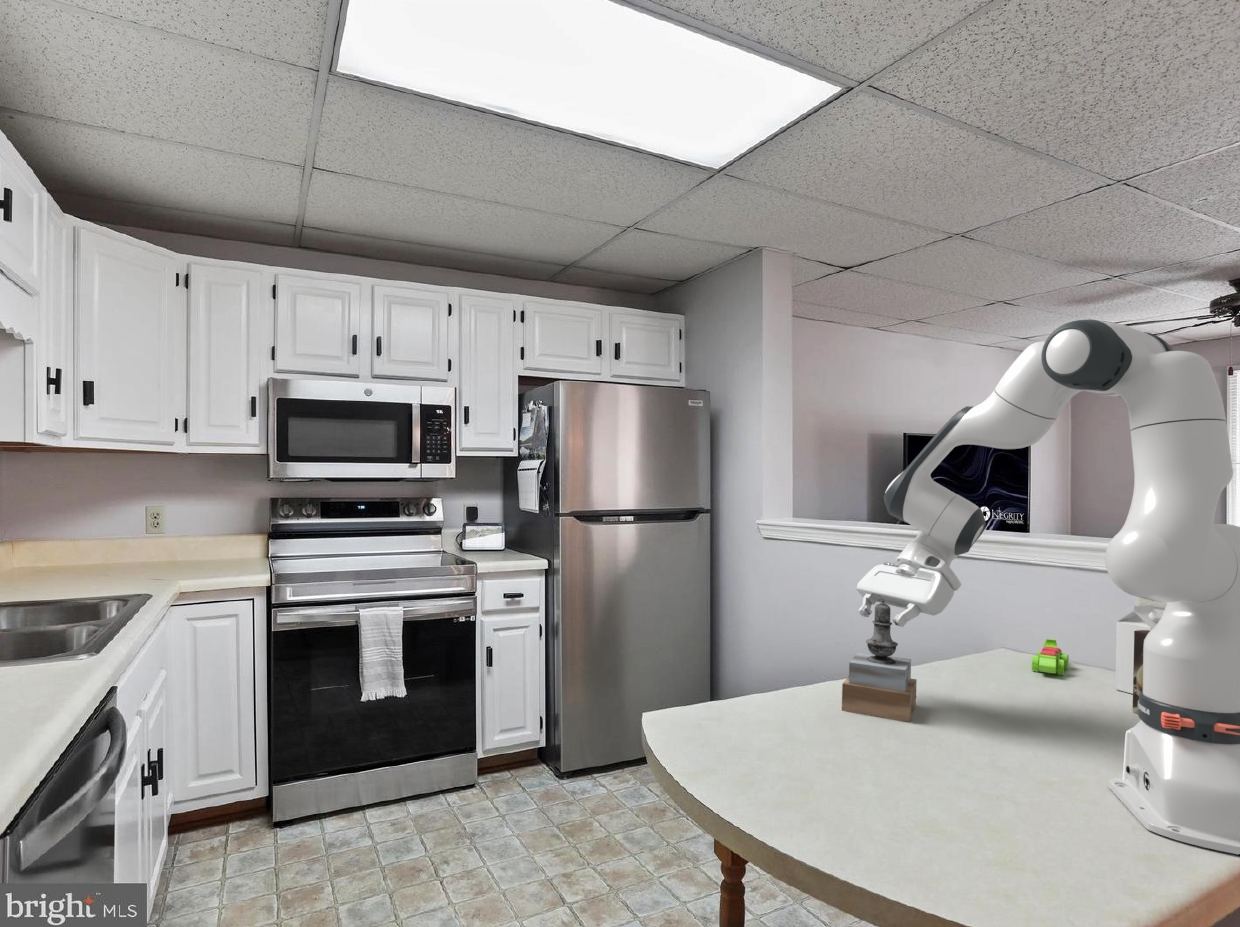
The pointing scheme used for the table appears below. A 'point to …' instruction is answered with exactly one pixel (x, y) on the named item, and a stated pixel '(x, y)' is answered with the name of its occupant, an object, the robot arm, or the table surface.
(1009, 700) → the table surface
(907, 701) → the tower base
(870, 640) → the salt shaker
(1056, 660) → the toy crocodile
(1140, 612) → the milk carton
